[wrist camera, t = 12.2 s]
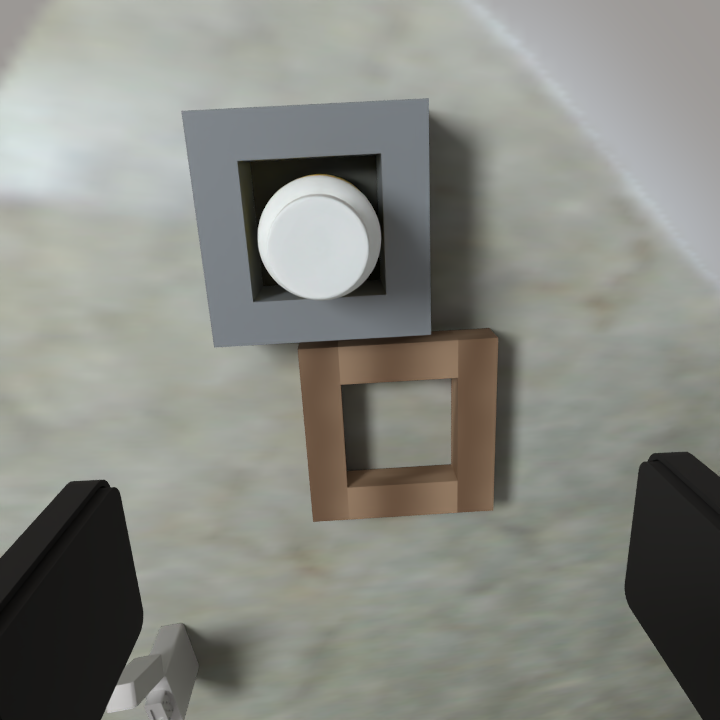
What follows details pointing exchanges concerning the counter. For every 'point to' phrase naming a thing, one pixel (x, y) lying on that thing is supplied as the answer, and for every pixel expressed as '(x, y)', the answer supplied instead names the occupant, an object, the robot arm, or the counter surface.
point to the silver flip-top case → (159, 677)
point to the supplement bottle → (319, 237)
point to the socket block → (239, 228)
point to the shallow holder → (407, 484)
